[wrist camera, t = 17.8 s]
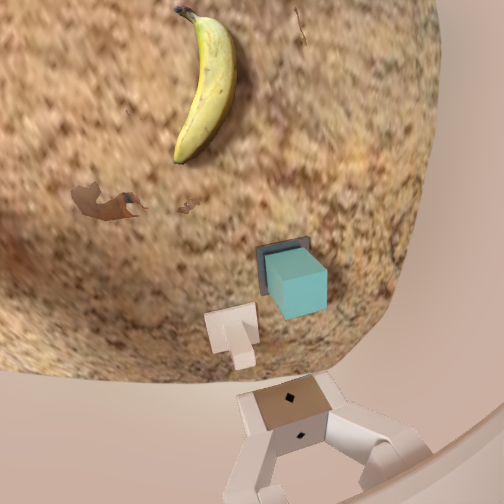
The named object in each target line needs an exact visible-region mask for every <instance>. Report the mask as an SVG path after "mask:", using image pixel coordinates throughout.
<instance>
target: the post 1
mask: <svg viewBox="0 0 504 504" xmlns="http://www.w3.org/2000/svg"><path fill="white" fill-rule="evenodd" d="M204 319H205V323H206V327H207V331H208V336H209V340H210V344H211V348H212V352H213V354H215V353H219V352H224V351H228V350H229V351H230V354H231V357H232V360H233V363H234V366H235V369H236V371H237V370H241V369H245V368H248V367H252V366H256V362H255V355H254V350H253V348H252V344H256V343H260V340H259V332H258V324H257V315H256V307H255V303H254V302H252V303H248V304H243V305H239V306H235V307H230V308H226V309H222V310H217V311H213V312H208V313H204Z"/></svg>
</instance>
